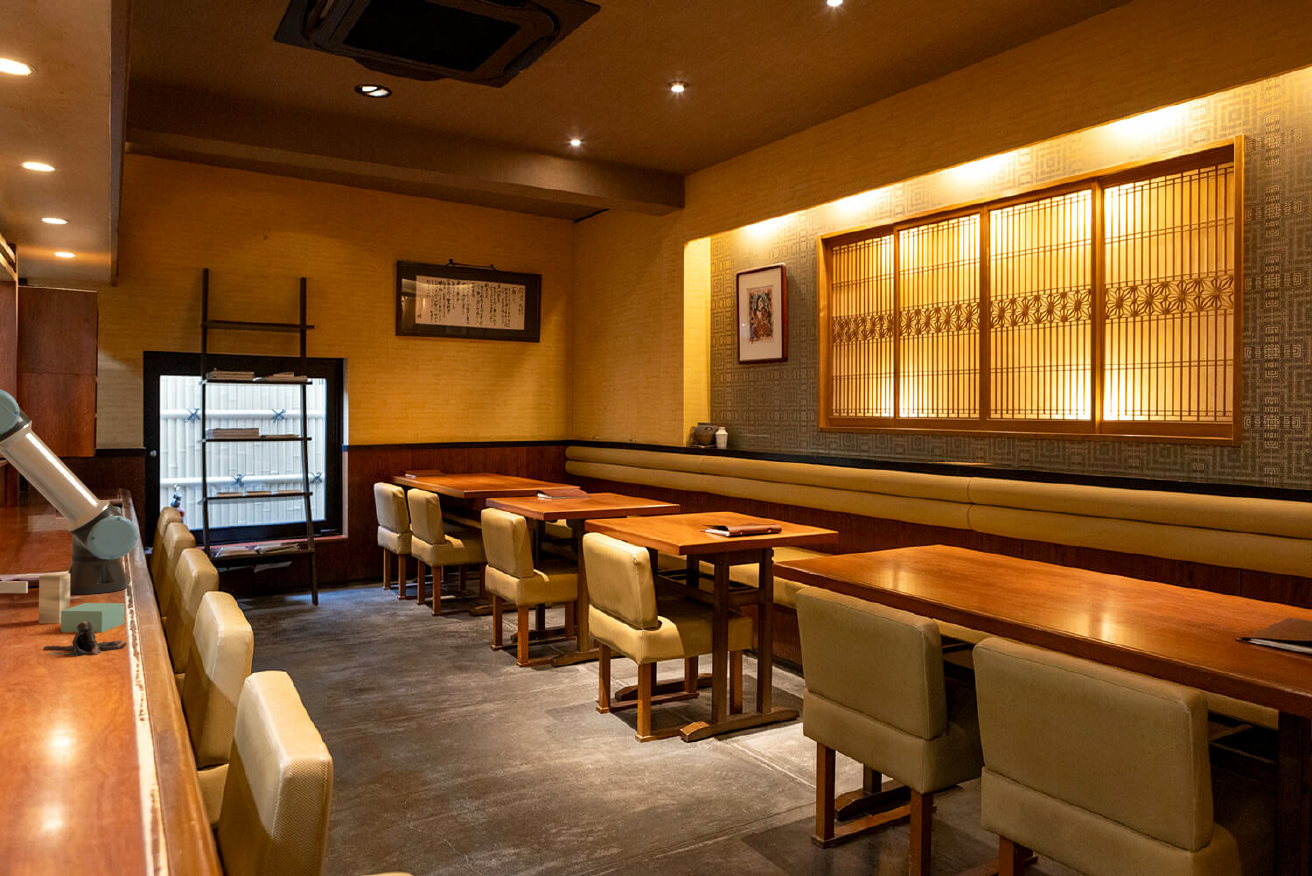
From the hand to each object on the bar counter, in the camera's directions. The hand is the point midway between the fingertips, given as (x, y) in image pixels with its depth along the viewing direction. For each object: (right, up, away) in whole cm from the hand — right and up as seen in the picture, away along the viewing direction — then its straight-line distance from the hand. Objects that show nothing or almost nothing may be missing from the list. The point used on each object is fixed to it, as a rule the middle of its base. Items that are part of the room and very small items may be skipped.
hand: (10, 592), depth 207 cm
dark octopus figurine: (+33, -8, -23) cm, 41 cm away
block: (+10, -7, +1) cm, 12 cm away
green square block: (+22, -8, -4) cm, 24 cm away
